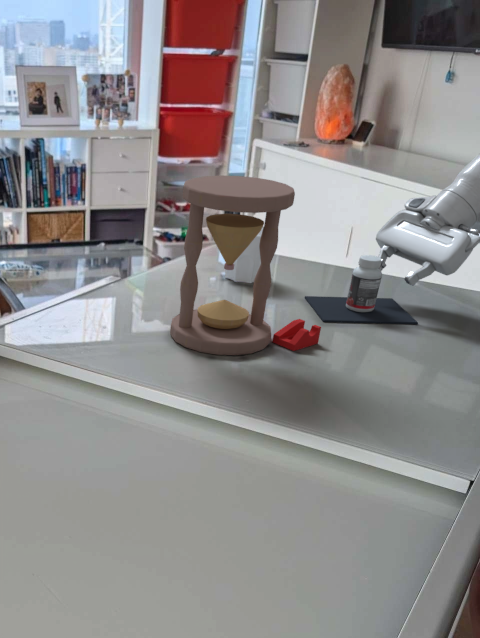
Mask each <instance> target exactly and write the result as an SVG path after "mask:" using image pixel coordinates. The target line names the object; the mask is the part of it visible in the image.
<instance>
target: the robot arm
mask: <svg viewBox="0 0 480 638" xmlns="http://www.w3.org/2000/svg"><path fill="white" fill-rule="evenodd" d="M403 206H404V209H402V210H399V211H398V212H396V213H395V214H393V216H392V217H390V218H389V219H388V220H387V222H385V223H384V225H383V226H381V228H380V229H378V231H377V233H376V236H375V241H376V243H377V245H378V246H379V248H380V250H379V253H378V256H377V257H380V258H381V259H382V260H381V266H380V267H379V268H378V269H379V270H380V271H381V272H382V271H383V269H385V268H386V267H387V264H386V261H387V260H388V258H392V256H393V255H395V256H397V257H398V258H399V257H400V258H401V259H404V260H407V261H410V262H412V263H415V264H417V265H419V266H422V267H420V268H418V269H417V270H415V271H412V270H411V271H410V272H408V274H407V275H405V276H404V281H405V283H406V284H407V285H410V286H412V287H413V286H415V285H416V284H417V283H418V282H419V281H420V280H422V279H425V278H427V277H430V276H431V275H432V274H433V273H434V272H437V273H439V274H442V275H444V276H450V275H452V274H454V273H456V272H457V271H458V270H459V269H460V268H461V267H462V265H463V264H464V263H465V262H466V260H467V259H468V258H469V257H470V255H471V254H472V252H473V251H474V249H475V248H476V247H477V246H478V245H479V244H480V153H478V154H477V155H475V157H474V158H472V160H470V161H469V162H468V163H467V164H466V165H465V166H464V167H463V168H462V169H461V170H460V171H459V172H458V174H456V176H455V178H454V180H453V181H452V182H451V184H449V185H448V186H446V187H444V188H443V189H442V190H441V191H440V192H439V193H438V194H437V195H430V196H422V197H411V198H409V199H408V200H407V201H406V202H405V203H404V205H403Z"/></svg>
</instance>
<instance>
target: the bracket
mask: <svg viewBox="0 0 480 638" xmlns="http://www.w3.org/2000/svg"><path fill="white" fill-rule="evenodd" d="M305 324H306V321H305V320H303V319H301V318H297V319H294V320H291V322H288V323H287V324H286V325H285V326H283V327H282V328H280V329H279V330H278V331H275V332H274V333H273V334H272V335H273V337H272V343H273V344H275V345H278V346H280V347H282V348H285V349H287V350H289V351H293V352H295V351H296V352H297V351H299V350H302V349H305V348H308V347H311V346H314V345H318V344H319V340H320V335H321V331H322V326H320V325H318V324H314V325H311V328H310V330H309V329H306V328H305Z"/></svg>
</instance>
